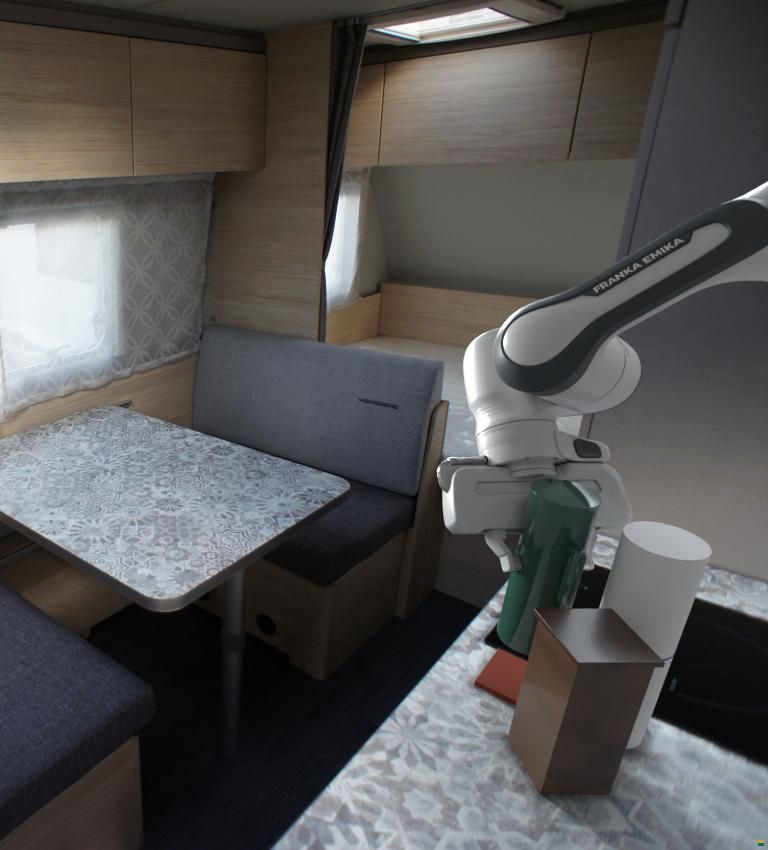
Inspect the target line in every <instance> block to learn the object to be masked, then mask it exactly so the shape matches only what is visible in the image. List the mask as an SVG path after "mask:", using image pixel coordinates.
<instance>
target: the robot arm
mask: <svg viewBox="0 0 768 850" xmlns="http://www.w3.org/2000/svg"><path fill="white" fill-rule="evenodd" d="M734 282H767V283H768V181H766V182H764V183H762V184H761V185H759V186H756V187H755V188H754V189H751V190H749V191H748V192H746V193H745V194H743V195H740V196H738V197H736V198H734V199H732V200H728V201H726V202H724V203H723V202H722V203H721V204H719V205H717V206H716V205H715V206H714V207H712V208H710V209H708V210H706V211H703V212H701V213H699V214H697V215H696V216H693V217H691V218H690V219H688V220H687V221H684V222H682V223H681V224H679V225H677V226H676V227H674V228H672V229H671V230H669V231H667V232H665V233H663V234H662V235H660V236H659V237H657V238H655V239H653V240H652V241H650V242H648V243H647V244H645V245H643V246H642V247H640V248H639V249H636V250H635V251H633V252H632V253H630V254H629V255H627V256H625V257H623V258H622V259H620V260H619V261H617V262H615V263H614V264H612V265H610V266H608V267H607V268H605V269H604V270H602V271H600V272H599V273H596V274H595V275H594V276H592V277H590V278H589V279H587V280H585V281H583V282H582V283H580V284H578V285H576V286H574V287H572V288H570V289H568V290H565V291H562V292H561V293H557V294H555V295H552V296H548V297H544V298H541V299H538V300H536V301H533V302H531V303H528V304H526V305H524V306H523V307H520V308H518V310H517V311H515V312H514V313H512V314H511V315H510V316H509V317H508V318H507V319H506V321H504V323H503V324H502V325H501V327H496V328H493V329H491V330H488V331H485V332H484V333H482V334H481V335H479V336H478V337H476V338H475V339H473V340H472V341H471V342H470V343H469V345H468V346H467V347H466V350H465V352H464V354H463V355H464V356H463V360H462V374H463V383H464V390H465V395H466V400H467V405H468V409H469V412H470V413H471V414H472V416H473V418H474V422H475V441H476V447H477V450H478V456H476V455H475V456H465V457H464V456H463V457H460V456H450V457H447V458H446V460H444V461H441V463H440V464H439V465H438V466H437V470H436V475H437V479H438V481H437V482H438V485H439V487H440V488H441V490H442V512H443V513H442V514H443V522H444V526H445V528H446V529H447V530H448V531H449V532H450V533H451V534H453V535H484V539H485V542H486V545H487V546H488V547H489V548H490V549H491V550H492V552H493V553H494V554H495V555H496V556H497V557H498V558H499V561H500V566H501V569H502V572H503V573H510V572H518V571H521V570H522V569H523V566H522V563H521V562H520V561H521V558H520V554H515V553H513V552H512V551H511V549H510V548H509V547H508V546H507V543H505V542H504V540H506V539H508V537H507V534H520V530H521V525H522V521H523V517H524V513H525V508H526V504H527V500H528V496H529V491H530V487H531V484H532V483H533V482H535V481H537V480H541V479H561V480H567V481H572V482H575V483H579V484H581V485H584V486H586V487H589V488H590V489H592V490H594V491H595V492H597V493H598V494H599V495H600V496H601V498H602V503H601V507H600V510H599V514H598V517H597V521H596V524H595V528H594V531H593V535H592V538H591V542H590V545H589V549H588V552H587V558H586V561H585V565H584V568H583V572H588V571H592V570H594V569H595V562H594V559H593V554H592V553H593V551H594V549H595V546H596V543H597V540H598V538H599V537H598V534H597V533H600V532H601V533H602V532H614V531H618V530H622V529H623V528H624V526H625V525H627V524H628V523H632V520H633V518H634V513H633V508H632V505H631V502H630V499H629V495H628V493H627V490H626V487H625V485H624V483H623V479H622V478H621V476H620V474H619V473H618V471H617V470H616V469H615V468H614V467H613V466H611V465H610V464H607V463H606V462H607V461H609V460H610V459H611V451H610V449H609V447H608V445H607V444H605V443H603V442H601V441H596V440H593V439H589V438H585V437H582V436H579V435H574V434H571V433H568V432H565V431H563V430H559V428H558V424H557V420H558V419H559V418H561V417H565V418H566V417H575V416H583V415H590V414H597V413H602V412H606V411H610V410H613V409H614V408H617V407H619V406H620V405H622V404H624V403H625V402H626V401H627V400H628V399H629V398H631V396H632V395H633V394H634V393H635V392H636V390H637V388H638V386H639V385H640V382H641V379H642V373H643V365H642V360H641V358H640V355H639V354H638V352H637V351H636V350H635V348H634V347H633V346H631V345H630V344H629V343H627V342H626V341H625V340H624V339H622V338H621V337H619V336H618V335H620V334H622V333H623V332H625V331H627V330H629V329H630V328H632V327H635V326H636V325H638V324H639V323H642V322H643V321H645V320H647V319H648V318H651V317H652V316H654V315H657V314H658V313H659V312H662V311H664V310H665V309H667V308H668V307H669V308H670V307H671V306H672V305H674V304H676V303H678V302H679V301H681V300H683V299H685V298H687V297H689V296H691V295H693V294H694V293H697V292H700V291H701V290H704V289H707V288H710V287H713V286H716V285H717V286H718V285H721V284H726V283H734Z"/></svg>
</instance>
